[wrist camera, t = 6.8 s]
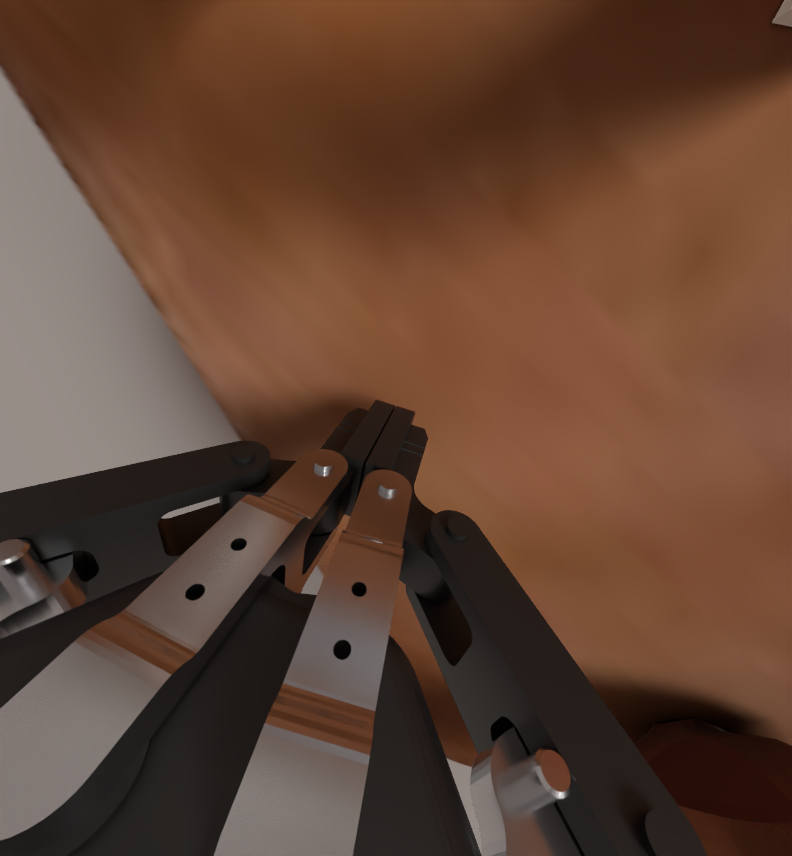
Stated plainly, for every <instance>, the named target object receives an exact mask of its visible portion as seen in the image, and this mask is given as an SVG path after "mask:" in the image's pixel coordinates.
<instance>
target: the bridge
mask: <svg viewBox="0 0 792 856" xmlns="http://www.w3.org/2000/svg"><path fill="white" fill-rule="evenodd" d="M772 23H775V24H780V25H785V26H790V27H792V0H784V2H783V3H782V5H781V7H780V9H779V11H778V12H777V14H776V16H775V18H774V19H773V21H772Z"/></svg>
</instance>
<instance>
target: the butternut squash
mask: <svg viewBox="0 0 792 856" xmlns="http://www.w3.org/2000/svg"><path fill="white" fill-rule="evenodd" d="M634 745H635V746H636V747H637V749H638V750H639V752H640V753H641V754H642V756H643V757H644V759H645V760H646V761H647V763H648V764H649V765H650V767H651V768H652V770H653V771H654V772H655V774H656V775H657V777H658V778H659V779H660V781H661V782H662V784H663V785H664V786H665V788H666V789H667V791H668V792H669V793H670V795H671V796H672V798H673V799H674V800H675V802H676V803H677V805H678V806H679V807H680V809H681V810H682V811H683V813H684V814H685V816H686V817H687V819H688V820H689V822H690V823H691V825H692V826H693V828H694V830H695V832H696V833H697V835H698V837H699V839H700V841H701V843H702V845H703V847H704V849H705V852H706V854H707V856H792V746H791V745H788V744H786V743H784V742H782V741H779V740H776V739H771V738H765V737H760V736H754V735H746V734H739V733H731V732H726V731H724V730H723V729H721V728H719V727H717V726H714V725H711V724H709V723H706V722H703V721H700V720H697V719H694V718H691V719H686V720H680V721H674V722H668V723H662V724H654V725H653V726H652V727H651V728H650V730H649V731H648V732H647V733H645V734H644V735H643V736H642V737H641V738H639V739H638V740H637V741H636V742H634Z"/></svg>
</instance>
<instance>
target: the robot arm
mask: <svg viewBox="0 0 792 856" xmlns="http://www.w3.org/2000/svg"><path fill="white" fill-rule="evenodd" d="M414 416H415V412H414V411H411V410H408V409H404V408H401V407H398V406H396V408H395V405H392V404H388V403H385V402H382V401H379V400H376V401H375V402H374V403H373V405H372V406H371V408H370V409H369V411H367V410H364V409H361V408H357V409H355V410H353V411H351V412H349V413H348V414H347V415H346V416H345V418H344V419H343V420H342V422H341V423H340V424H339V425H338V427H337V428H336V429H335V431H334V432H333V433H332V435H331V436H330V437H329V438H328V440H327V441H326V442H325V444H324V445H323V446H322V448H321V449H316V450H312V451H309V452H307V453H305V454H304V455H303V456H302V457H301V458H300V459H299V460H298V461H285V460H274V459H270V452H269V450H268V449H267V448H266V447H265V446H264V445H262V444H260V443H257V442H253V441H237V442H232V443H228V444H223V445H218V446H214V447H209V448H205V449H200V450H195V451H191V452H186V453H182V454H177V455H172V456H168V457H163V458H159V459H154V460H150V461H145V462H140V463H136V464H131V465H126V466H122V467H117V468H113V469H108V470H104V471H99V472H94V473H90V474H86V475H81V476H76V477H72V478H67V479H62V480H58V481H53V482H48V483H44V484H39V485H35V486H30V487H26V488H21V489H16V490H12V491H7V492H3V493H0V856H707V854H706V852H705V849H704V847H703V845H702V843H701V841H700V839H699V837H698V835H697V833H696V832H695V830H694V828H693V826H692V825H691V823H690V822H689V820H688V819H687V817H686V816H685V814H684V813H683V811H682V810H681V809H680V807H679V806H678V805H677V803H676V802H675V800H674V799H673V798H672V796H671V795H670V793H669V792H668V791H667V789H666V788H665V786H664V785H663V784H662V782H661V781H660V779H659V778H658V777H657V775H656V774H655V772H654V771H653V770H652V768H651V767H650V765H649V764H648V763H647V761H646V760H645V759H644V757H643V756H642V754H641V753H640V752H639V750H638V749H637V747H636V746H635V745H634V743H633V742H632V740H631V739H630V738H629V736H628V735H627V733H626V732H625V731H624V729H623V728H622V726H621V725H620V724H619V722H618V721H617V719H616V718H615V717H614V715H613V714H612V712H611V711H610V710H609V708H608V707H607V706H606V704H605V703H604V701H603V700H602V699H601V697H600V696H599V694H598V693H597V692H596V690H595V689H594V687H593V686H592V685H591V683H590V682H589V680H588V679H587V678H586V676H585V675H584V673H583V672H582V671H581V669H580V668H579V666H578V665H577V664H576V662H575V661H574V660H573V658H572V657H571V655H570V654H569V653H568V651H567V650H566V648H565V647H564V646H563V644H562V643H561V641H560V640H559V639H558V637H557V636H556V634H555V633H554V632H553V630H552V629H551V627H550V626H549V625H548V623H547V622H546V620H545V619H544V618H543V616H542V615H541V613H540V612H539V611H538V609H537V608H536V607H535V605H534V604H533V602H532V601H531V600H530V598H529V597H528V595H527V594H526V593H525V591H524V590H523V588H522V587H521V586H520V584H519V583H518V581H517V580H516V579H515V577H514V576H513V574H512V573H511V572H510V570H509V569H508V567H507V566H506V565H505V563H504V562H503V561H502V559H501V558H500V556H499V555H498V554H497V552H496V551H495V549H494V548H493V547H492V545H491V544H490V542H489V541H488V540H487V538H486V537H485V535H484V534H483V533H482V531H481V530H480V528H479V527H478V526H477V524H476V523H475V522H474V521H473V520H472V519H470V518H469V517H468V516H466V515H464V514H462V513H460V512H457V511H452V510H445V511H441V512H438V513H437V514H435V513H434V512H432V511H431V510H429V509H428V508H426V507H425V506H424V505H423V504H422V503H421V502H420V501H419V500H418V498H417V497H416V495H415V492H414V483H415V480H416V476H417V473H418V470H419V466H420V463H421V460H422V456H423V453H424V450H425V447H426V443H427V440H428V437H427V434H426V431H425V429H423V428H420V427H417V426H414V425H412V422H413V419H414ZM216 497H219V498H220V503H217V504H214V505H211V506H207V507H204V508H201V509H198V510H195V511H192V512H188V513H185V514H182V515H179V516H176V517H172V518H167V519H162V518H161V517H162V516H163V515H165V514H166V513H168V512H170V511H173V510H176V509H180V508H183V507H186V506H190V505H193V504H196V503H200V502H203V501H206V500H209V499H213V498H216ZM344 514H345V515H348V516H350V519H349V522H348V524H347V527H346V529H345V531H344V530H343V531H342V533H341V535H340V537H339V540H338V542H337V545H336V548H335V550H334V553H333V555H332V558H331V560H330V563H329V566H328V568H327V571H326V573H325V576H324V579H323V581H322V584H321V586H320V589H319V591H318V594H317V595H310V594H301V591H302V588H303V587H304V584H305V583H306V581H307V579H308V577H309V576H310V574H311V573H312V571H313V570H314V568H315V566H316V565H317V563H318V561H319V560H320V558H321V557H322V555H323V553H324V552H325V550H326V549H327V547H328V545H329V544H330V542H331V541H332V539H333V537H334V536H335V534H336V531H337V526H338V525H339V523H340V521H341V519H342V517H343V516H344ZM399 580H401V581H402V582H403V583H404V584H406V592H407V595H408V598H409V600H410V602H411V605H412V607H413V609H414V611H415V613H416V616H417V618H418V620H419V622H420V625H421V627H422V629H423V631H424V634H425V636H426V638H427V640H428V643H429V645H430V647H431V649H432V651H433V654H434V656H435V658H436V660H437V663H438V665H439V667H440V669H441V672H442V674H443V676H444V678H445V681H446V683H447V685H448V687H449V689H450V692H451V694H452V696H453V698H454V701H455V703H456V705H457V707H458V710H459V712H460V714H461V716H462V719H463V721H464V723H465V725H466V727H467V730H468V732H469V734H470V736H471V739H472V741H473V743H474V745H475V748H476V750H477V752H478V756H477V757H476V759H475V761H474V764H473V767H472V771H471V777H470V789H471V798H472V803H473V807H474V810H475V814H476V817H477V820H478V824H479V829H480V834H481V843H482V855H481V853H480V850H479V847H478V844H477V842H476V839H475V836H474V833H473V831H472V828H471V825H470V822H469V820H468V817H467V814H466V811H465V809H464V806H463V803H462V801H461V798H460V795H459V792H458V789H457V787H456V784H455V781H454V778H453V776H452V773H451V770H450V767H449V764H448V762H447V759H446V756H445V753H444V751H443V748H442V745H441V742H440V740H439V737H438V734H437V731H436V729H435V726H434V723H433V720H432V718H431V715H430V712H429V709H428V707H427V704H426V701H425V698H424V695H423V693H422V690H421V687H420V684H419V682H418V679H417V676H416V674H415V671H414V669H413V667H412V665H411V663H410V661H409V659H408V658H407V656H406V655H405V653H404V652H403V650H402V649H401V648H400V646H399V645H398V644H397V643H396V641H395V640H394V639H393V638H392V637H391V636H390V635H389V632H390V626H391V620H392V615H393V609H394V604H395V598H396V592H397V587H398V581H399Z"/></svg>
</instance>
